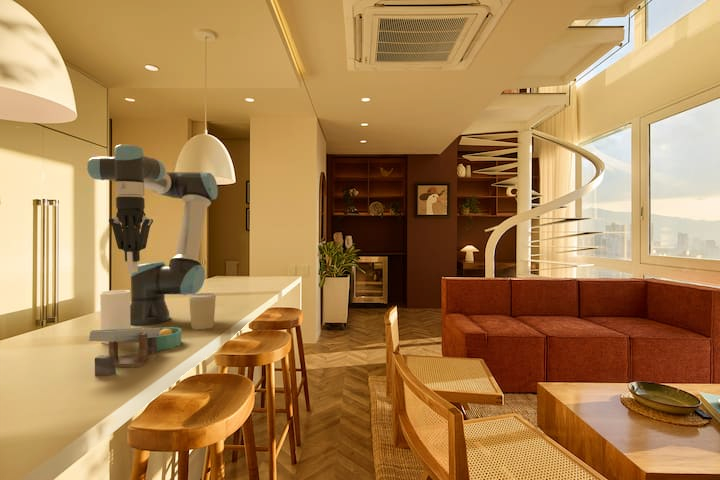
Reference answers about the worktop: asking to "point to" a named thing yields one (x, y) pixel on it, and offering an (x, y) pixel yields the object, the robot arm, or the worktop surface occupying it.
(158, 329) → the lever
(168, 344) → the dish
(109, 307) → the cup
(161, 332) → the ball
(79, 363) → the worktop surface
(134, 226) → the robot arm
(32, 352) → the worktop surface
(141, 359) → the stand
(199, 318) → the coffee cup
